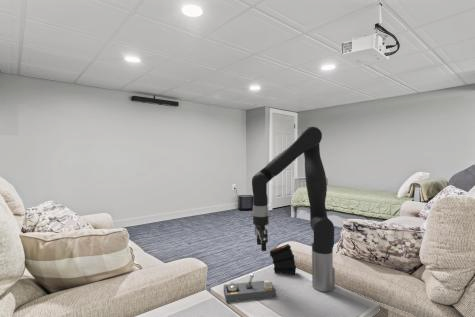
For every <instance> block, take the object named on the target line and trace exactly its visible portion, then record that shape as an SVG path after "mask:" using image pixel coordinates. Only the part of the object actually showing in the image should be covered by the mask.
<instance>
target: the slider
mask: <svg viewBox="0 0 475 317" xmlns="http://www.w3.org/2000/svg"><path fill="white" fill-rule="evenodd" d="M263 281H264V288H265V289H270V288H272V284H273V281H272V279H267V280H266V279H265V280H263Z"/></svg>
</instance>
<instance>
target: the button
mask: <svg viewBox="0 0 475 317" xmlns="http://www.w3.org/2000/svg"><path fill="white" fill-rule="evenodd" d="M231 292H238V285H237V283H235V282H234V283H233V282H231V283H229V285H228V293H231Z"/></svg>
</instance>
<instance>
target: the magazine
mask: <svg viewBox="0 0 475 317" xmlns="http://www.w3.org/2000/svg"><path fill="white" fill-rule="evenodd" d="M269 256H270V258H271V259H272V264H273V271H274V273H275V274H285V275H290V276H296V272H297V271H296V270H297V265H296V260H295V254H293V251H292V249H291V245H289V243H287V244H284V245H282V246H278V247H276V248H274V249H271V250H270V251H269Z"/></svg>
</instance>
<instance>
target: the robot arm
mask: <svg viewBox="0 0 475 317" xmlns="http://www.w3.org/2000/svg"><path fill="white" fill-rule="evenodd" d="M322 138H323V134H322V131H321V130H320V129H319V128H318V127H317V126H308V127H305V128H304V129H303V130H302V131H301V133H300V135H299V137H298V138H297V139H296V140H295V141H294V142H293V143H292V144H290V145H289V146H288V147H287V148H286V149H284V150H283V151H281V152H279V153H278V155H276V156H275V157H274V158H273V159H272V160H270V161H269V162H268V163H267V164H266V165H265V166H264V167H263V168H262V169H260V170H259V171H258V172H256V173H255V174H254V175H253V176H252V179H251V189H252V202H253V203H252V224H253V225H254V227H255V228H254V231H255V232H254V233H255V234H254V235H255V237H256V245H258V246H261V249H260V250H261V251H262V252H267V243H269V238H268V229H266V226H268V225H269V224H270V222H269V206H268V204H269V203H268V200H269V199H268V194H267V185H268V183H269V182H270V181H271V180H273V178H274V177H276V176H278V175H279V174H281V173H282V171H284V170H286V168H288V167H289V166H290V165H291V164H292V163H293V162H294V161H296V160H297V158H299V157H300V156H301V155H303V157H304V176H305V185H306V186H305V187H306V191H307V192H306V193H307V197H308V202H309V203H308V204H309V213H310V214H309V218H310V219H309V220H310V224H309V225H310V228H311V230H312V232H313V242H312V244H311V270H312V271H311V277H312V278H311V281H312V284H311V286H312V287H313V289H315V290H317V291H319V292H322V293H323V292H328V293H329V292H331V291H332V290H334V289H336V286H335V284H336V281H335V280H336V278H335V276H336V271H335V270H336V268H335V267H334V265H333V264H334V263H333V262H334V257H333V255H334V252H333V251H334V250H333V249H334V246H335V226H334V223H333V222H332V220H330V218H329V217H328V213H327V209H326V208H327V207H326V198H327V192H328V191H327V190H328V187H327V175H326V171H325V168H324V165H323V164H324V163H323V160H322V158H321V153H320V152H321V150H320V148H321V147H320V143H321V141H322Z"/></svg>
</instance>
